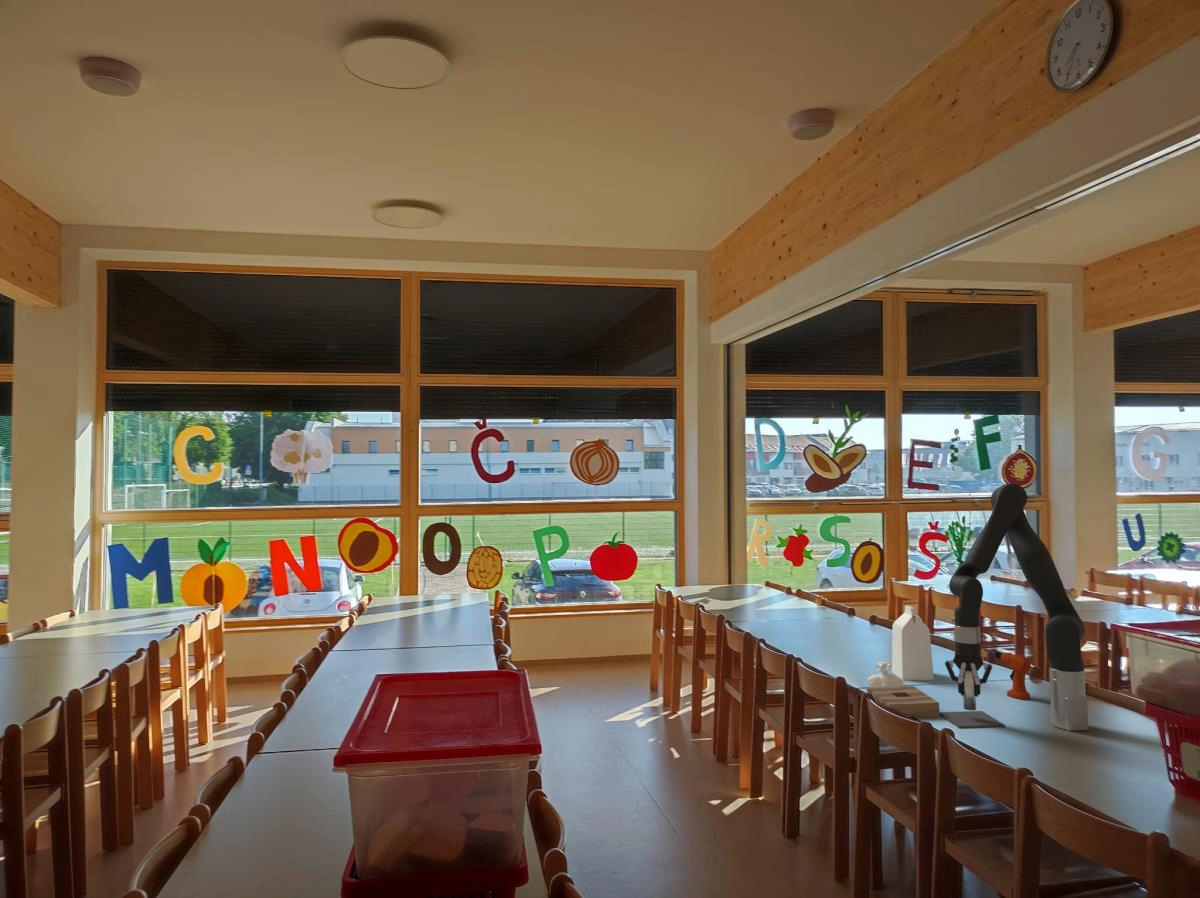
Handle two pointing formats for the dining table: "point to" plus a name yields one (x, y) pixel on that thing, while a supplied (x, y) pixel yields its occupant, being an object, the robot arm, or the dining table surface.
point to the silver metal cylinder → (969, 691)
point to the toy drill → (1015, 673)
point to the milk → (911, 647)
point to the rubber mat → (971, 719)
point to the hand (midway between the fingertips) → (969, 695)
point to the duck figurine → (884, 677)
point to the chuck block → (906, 700)
